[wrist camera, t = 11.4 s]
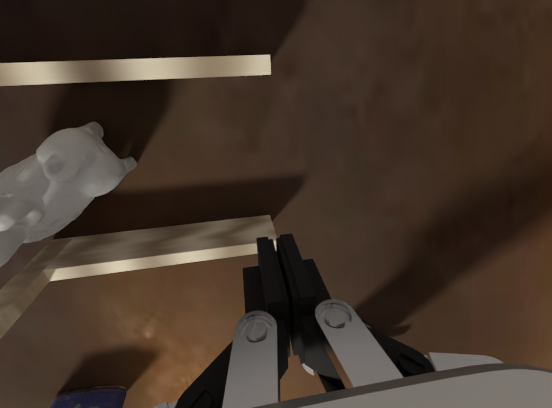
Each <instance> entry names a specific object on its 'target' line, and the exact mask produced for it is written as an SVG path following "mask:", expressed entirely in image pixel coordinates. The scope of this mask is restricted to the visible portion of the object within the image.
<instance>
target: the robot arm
mask: <svg viewBox="0 0 552 408" xmlns="http://www.w3.org/2000/svg"><path fill="white" fill-rule="evenodd" d="M256 242H257V253H258V265H259V266H254V267H246V268H243V280H244V297H245V315H244V316H242V317H241V318H240V319H239V321H238V322H237V324H236V327H235V331H234V338H233V341H232V342H231V343H230V344H229V345H228V346H227V347H226V348H225V349H224V350H223V352H222V353H221V354H220V355H219V356H218V357H217V358H216V359H215V360H214V361H213V362H212V363H211V364H210V365H209V366H208V367H207V368H206V369H205V370H204V372H203V373H202V374H201V375H200V376H199V377H198V378H197V379H196V380H195V381H194V382H193V383H192V384H191V385H190V386H189V387H188V388H187V389H186V390H185V392H184V393H183V394H182V395H181V397H180V398H179V399H178V401H175V402H173V403H171V404H169V405H168V403H167V402H164V403H162V404H160V405H157V406H155V407H153V408H552V370H550V369H546V368H541V367H536V366H530V365H523V364H510V363H503V362H502V361H500V360H497V359H495V358H493V357H489V356H484V355H467V354H449V353H431V352H428V356H425V355H423V354H421V353H420V352H418V351H417V350H415V349H413V348H411V347H409V346H407V345H405V344H403V343H400V342H398V341H396V340H394V339H392V338H390V337H388V336H386V335H384V334H382V333H380V332H378V331H376V330H373V329H372V328H371V327H370V326H368V325H367V324H365V323H363V322H362V321H361V319H360V318H359V317H358V315H357V314H356V312H355V311H354V310H353V309H352V308H351V307H350V306H349V305H348V304H346V303H345V302H342V301H339V300H333V299H331V297H330V295H329V293H328V291H327V289H326V287H325V284H324V282H323V280H322V278H321V276H320V274H319V271H318V269H317V267H316V265H315V263H314V261H313V259H307V260H302V258H301V255H300V253H299V250H298V248H297V245H296V243H295V240H294V238H293V235H292V234H284V235H280V238H276V249H275V246H274V242H273V239H268V236H267V237H258V238H256ZM290 341H291V345H292V350H293V354H294V356H296V355H299V358H300V362H301V364H303V367H304V369H305V370H306V371H307V372H308V373H310V374H312V375H314V376H315V379H316V381H317V384H318V386H319V388H320V391H321V394H317V395H312V396H307V397H302V398H297V399H292V400H287V401H282V402H281V401H280V379H281V378H282V376H283V375H284V373H285V372H286V370H287V369H288V357H290Z"/></svg>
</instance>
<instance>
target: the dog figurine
mask: <svg viewBox="0 0 552 408" xmlns="http://www.w3.org/2000/svg"><path fill="white" fill-rule="evenodd" d="M103 135H104V134H103V128H102V127H101V125H100V124H98V123H97V122H90V123H88V124H87V125H84V126H82V127H79V128H67V129H63V130H60V131H57V132H55V133H54V134H52V135H51V136H49V137H48V138H47V139H46V140H45V141H44V142H43V143H42V144H41V145H40V147H39V148H38V149H37V151H36V154H34V155H32V156H30V157H28V158H27V159H25V160H22V161H21V162H19V163H18V164H15V165H12V166H9V167H8V168H6V169H5V170H3V171H2V172H1V173H0V267H1V266H2V265H4V264H5V263H6V262H7V261H8V260H9V259H10V258H11V257H12V255H13V254H14V253H15V252H16V250H17V249H18V248H19V246H20V245H21V244H22V243H30V242H35V241H40V240H42V239H43V238H45V237H48V236H51V235H53V234H55V233H57V232H58V231H60V230H62V229H63V228H64V227H65V226H67V225H68V224H69V223H70V222H71V221H73V220H75V219H76V218H77V217H78V216H79V215H80V214H81V213H82V212H83V209H85V208H86V207H87V206H88V204H89V203H90V202H91V201H92V200H93V199H94V198H95V197H97V196H100V195H103V194H106V193H108V192H109V191H111V190H112V189H114V188H115V187H116V186H117V185H118V184H119V183H120V181H121V180H122V179H123V178H124V177H125V175H126V174H127V173H128V172H129V171H131V170H133V169H134V168H135V167H136V166H137V162H136V161H135V160H134V158H132V157H127V158H124V159H119V158H118V157H117V156H116V155H115V154H114V153H113V152H112V151H111V150H110V149H109V148H108V147H107V146H106V145H105V144H104V142H103V140H102V139H101V138H102V137H103Z"/></svg>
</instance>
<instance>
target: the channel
mask: <svg viewBox="0 0 552 408" xmlns="http://www.w3.org/2000/svg"><path fill="white" fill-rule="evenodd" d="M248 75H271V65H270V55H243V56H212V57H180V58H149V59H117V60H86V61H54V62H23V63H0V86H11V85H35V84H58V83H82V82H106V81H130V80H153V79H177V78H201V77H225V76H248ZM267 236H268V239H273V242H274V246H275V249H276V238H277V237H276V234H275V230H274V227H273V224H272V221H271V217H270V215H263V216H254V217H246V218H237V219H228V220H220V221H211V222H202V223H193V224H185V225H176V226H167V227H158V228H150V229H141V230H132V231H124V232H115V233H106V234H97V235H89V236H80V237H71V238H63V239H54V240H52V241H51V242H49V243H48V244H47V245H46V246H45V247H44V248H43V249H42V250H41V251H40V252H39V253H38V254H37V255H36V256H35V257H34V258H33V259H32V260H31V261H30V262H29V263H28V264H27V265H26V266H24V267H23V268H22V269H21V270H20V271H19V272H18V273H17V274H16V275H15V276H14V277H13V278H12V279H11V280H10V281H9V282H8V283H7V284H6V285H5V286H4V287H3V288H2V289H0V339H1V338H2V337H3V336H4V334H5V333H6V332H7V331H8V330H9V328H10V327H11V326H12V325H13V324H14V323H15V321H16V320H17V319H18V318H19V317H20V315H21V314H22V313H23V312H24V311H25V310H26V308H27V307H28V306H29V305H30V304H31V303H32V301H33V300H34V299H35V298H36V297H37V295H38V294H39V293H40V292H41V291H42V290H43V288H44V287H45V286H46V285H47V284H48V282H49V281H55V280H62V279H70V278H77V277H85V276H92V275H100V274H107V273H115V272H122V271H129V270H137V269H144V268H152V267H159V266H167V265H174V264H182V263H189V262H197V261H204V260H212V259H219V258H227V257H234V256H242V255H249V254H256V253H257V242H256V238H258V237H267Z"/></svg>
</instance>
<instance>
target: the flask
mask: <svg viewBox="0 0 552 408" xmlns="http://www.w3.org/2000/svg"><path fill="white" fill-rule="evenodd" d="M126 392H127V390H126V388H125V387H122V386H97V387H91V388H83V389H77V390H73V391H72V390H71V391H65V392H63V393H59V394H58V395H57V396H56V397H55V398H54V400H53V402H52V404H51V406H50V408H122V407H123V404H124V400H125V397H126Z"/></svg>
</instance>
